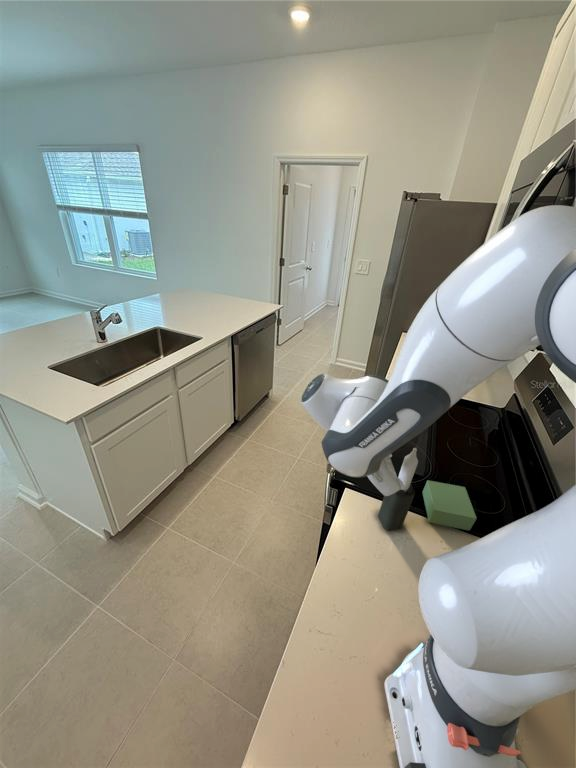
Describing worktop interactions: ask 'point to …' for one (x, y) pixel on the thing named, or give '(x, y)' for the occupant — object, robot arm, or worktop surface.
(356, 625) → the worktop surface
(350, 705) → the worktop surface
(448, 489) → the green block
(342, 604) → the worktop surface
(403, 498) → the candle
